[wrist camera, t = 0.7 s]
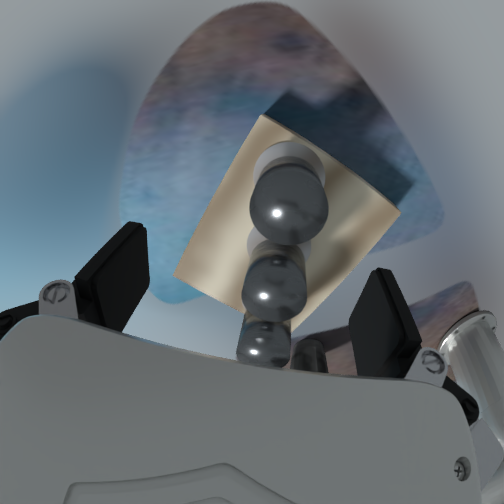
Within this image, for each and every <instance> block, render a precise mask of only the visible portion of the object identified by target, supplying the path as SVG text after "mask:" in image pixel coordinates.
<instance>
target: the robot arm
mask: <svg viewBox="0 0 504 504" xmlns="http://www.w3.org/2000/svg"><path fill="white" fill-rule="evenodd" d="M149 283H150V276H149V263H148V247H147V230H146V228H145V227H143V224H142V223H137V222H131V221H129V222H127V223H126V224H125V225H124V226H123V227H122V228H121V229H120V230H119V231H118V232H117V233H116V234H115V235H114V236H113V237H112V238H111V239H110V240H109V241H108V242H107V243H106V244H105V245H104V246H103V247H102V248H101V249H100V250H99V251H98V252H97V253H96V254H95V255H94V256H93V257H92V258H91V259H90V261H89V262H88V263H87V264H86V265H85V266H84V267H83V268H82V269H81V270H80V272H78V274H77V275H76V276H75V280H74V281H73V282H72V283H70V282H69V281H66V280H55V281H52V282H50V283H48V284H47V285H45V286H44V287H43V288H42V290H41V291H40V294H39V300H38V301H35V302H31V303H28V304H25V305H21V306H18V307H15V308H12V309H8V310H5V311H3V312H1V313H0V504H504V351H503V349H502V347H501V345H500V343H499V341H498V339H497V337H496V335H495V334H494V332H495V330H496V325H497V322H496V318H495V317H494V315H493V314H492V313H491V312H489V311H478V312H474V313H472V314H470V315H468V316H466V317H465V318H463V319H461V320H460V321H459V322H457V323H456V324H455V325H454V326H453V327H452V328H451V329H450V330H449V331H448V332H447V333H446V334H445V336H444V337H443V338H442V340H441V342H440V344H439V346H438V350H435V349H434V348H430V347H424V348H422V347H421V345H420V344H421V342H422V339H421V336H420V334H419V331H418V329H417V327H416V324H415V322H414V319H413V317H412V315H411V312H410V310H409V308H408V305H407V303H406V301H405V299H404V297H403V294H402V292H401V290H400V288H399V286H398V284H397V282H396V280H395V277H394V275H393V273H392V271H391V270H388V269H383V268H377V269H376V270H373V271H372V272H371V274H370V276H369V278H368V280H367V283H366V285H365V287H364V289H363V291H362V293H361V295H360V297H359V300H358V302H357V304H356V306H355V308H354V310H353V312H352V314H351V316H350V318H349V329H350V334H351V339H352V345H353V350H354V356H355V362H356V368H357V374H358V376H354V375H341V374H329V373H319V372H310V371H301V370H294V369H286V368H279V367H272V366H266V365H259V364H253V363H247V362H242V361H236V360H231V359H226V358H221V357H216V356H211V355H206V354H202V353H197V352H193V351H188V350H185V349H180V348H176V347H172V346H168V345H164V344H160V343H157V342H153V341H150V340H146V339H143V338H139V337H135V336H132V335H129V334H124V333H122V331H123V329H124V327H125V326H126V324H127V322H128V320H129V318H130V317H131V315H132V314H133V312H134V310H135V309H136V307H137V305H138V304H139V302H140V300H141V299H142V297H143V295H144V294H145V292H146V290H147V289H148V287H149ZM448 365H451V367H452V370H453V373H454V375H455V378H456V381H457V384H458V385H457V384H456V383H455V382H454V381H452V380H451V379H450V378H449V377H447V376H446V374H447V370H448Z"/></svg>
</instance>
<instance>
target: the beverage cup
mask: <svg viewBox="0 0 504 504" xmlns="http://www.w3.org/2000/svg"><path fill="white" fill-rule="evenodd" d="M290 369H294V370H301V371H310V372H319V373H328V367H327V361H326V356H325V353H324V349H323V345H322V343H321V342H319V341H317V340H314V339H305V340H302V341H299V342H298V343H296V345H295V346H294V349H293V355H292V359H291V366H290Z"/></svg>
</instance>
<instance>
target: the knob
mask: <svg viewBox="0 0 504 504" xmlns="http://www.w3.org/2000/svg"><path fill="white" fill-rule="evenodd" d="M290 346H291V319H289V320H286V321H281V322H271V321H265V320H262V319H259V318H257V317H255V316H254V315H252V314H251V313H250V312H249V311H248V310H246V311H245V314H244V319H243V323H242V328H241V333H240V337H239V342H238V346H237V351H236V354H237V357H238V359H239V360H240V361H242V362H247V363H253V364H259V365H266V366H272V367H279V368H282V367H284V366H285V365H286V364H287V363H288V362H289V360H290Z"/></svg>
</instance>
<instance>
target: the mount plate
mask: <svg viewBox="0 0 504 504" xmlns="http://www.w3.org/2000/svg"><path fill="white" fill-rule="evenodd" d="M282 156H295V157H299V158H302V159H304V160H306V161H307V162H309V163H310V164H311V165H312V166H313V167H314V168H315V170H316V171H317V173H318V175H319V178H320V180H321V183H322V186H323V188H324V191H325V194H326V196H327V200H328V205H329V213H328V218H327V221H326V223H325V225H324V227H323V228H322V230H321V231H320V232H319V233H318V234H317V235H316V236H315V237H314V238H312V239H311V240H309V241H307V242H304V243H301V244H297V246H298V247H299V248H300V249H301V250H302V252H303V254H304V257H305V266H306V283H307V302H306V305H305V307H304V309H303V310H302V311H301V313H299V314H298V315H297V316H295V317H294V318H292V319H291V332H292V331H294V330H295V329H296V328H297V327H298V326H299V325H300V324H301V323H302V322H303V321H304V320H305V319H306V318H307V317H308V316H309V315H310V314H311V313H312V312H313V311H314V310H315V309H316V308H317V307H318V306H319V305H320V304H321V303H322V302H323V301H324V300H325V299H326V298H327V297H328V295H330V294H331V293H332V291H333V290H334V289H335V288H336V287H337V286H338V285H339V284H340V283H341V282H342V281H343V279H345V278H346V277H347V275H348V274H349V273H350V272H351V271H352V270H353V269H354V268H355V267H356V266H357V264H358V263H359V262H360V261H361V260H362V259H363V258H364V257H365V256H366V254H367V253H368V252H369V251H370V250H371V249H372V247H373V246H374V245H375V244H376V243H377V242H378V241H379V239H380V238H381V237H382V236H383V235H384V233H385V232H386V231H387V230H388V229H389V227H390V226H391V225H392V224H393V223H394V221H395V220H396V219H397V218H398V216H399V215H400V214H401V212H400V211H399V209H398V208H397V207H396V206H395V205H394V204H393V203H392V202H391V201H390V200H389V199H388V198H387V197H385V196H384V195H383V194H382V193H380V192H379V191H378V190H377V189H375V188H374V187H373V186H372V185H370V184H369V183H368V182H366V181H365V180H364V179H362V178H361V177H360V176H358V175H357V174H356V173H354V172H353V171H352V170H350V169H349V168H348V167H346V166H345V165H343V164H342V163H341V162H339V161H338V160H336V159H335V158H334V157H332V156H331V155H329V154H328V153H326V152H325V151H323V150H322V149H320V148H319V147H317V146H316V145H314V144H313V143H311V142H310V141H308V140H307V139H305V138H304V137H302V136H300V135H299V134H297V133H296V132H294V131H292V130H291V129H289V128H287V127H286V126H284V125H283V124H281V123H279V122H277V121H276V120H274V119H272V118H271V117H269V116H267V115H265V114H262V115H260V117H259V119H258V120H257V122H256V123H255V125H254V127H253V128H252V130H251V132H250V133H249V135H248V137H247V138H246V140H245V142H244V143H243V145H242V147H241V148H240V150H239V152H238V153H237V155H236V157H235V159H234V160H233V162H232V164H231V166H230V167H229V169H228V171H227V173H226V174H225V176H224V178H223V180H222V181H221V183H220V185H219V187H218V189H217V191H216V192H215V194H214V196H213V198H212V200H211V201H210V203H209V205H208V207H207V209H206V211H205V213H204V215H203V216H202V218H201V220H200V222H199V224H198V226H197V228H196V230H195V232H194V234H193V236H192V238H191V239H190V241H189V243H188V245H187V247H186V249H185V251H184V253H183V255H182V257H181V259H180V261H179V263H178V265H177V268H176V270H175V272H174V274H173V276H174V277H176V278H178V279H180V280H181V281H183V282H185V283H187V284H189V285H191V286H192V287H194V288H196V289H198V290H200V291H202V292H203V293H205V294H207V295H209V296H211V297H213V298H215V299H217V300H219V301H220V302H222V303H224V304H226V305H228V306H230V307H232V308H234V309H236V310H238V311H240V312H242V313H244V314H245V311H246V310H247V309H246V308H245V306H244V304H243V302H242V298H241V292H242V288H243V284H244V280H245V276H246V272H247V268H248V264H249V260H250V256H251V253H252V251H253V249H254V248H255V247H256V246H257V245H258V244H259V243H261V242H263V241H265V240H267V238H265V237H264V236H263V235H262V234H260V232H259V231H258V230H257V229H256V228H255V226H254V224H253V222H252V220H251V217H250V212H249V203H250V198H251V196H252V193H253V190H254V188H255V185H256V183H257V180H258V178H259V175H260V173H261V171H262V170H263V168H264V167H265V166H266V165H267V164H268V163H269V162H270V161H272V160H274V159H276V158H279V157H282Z"/></svg>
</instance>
